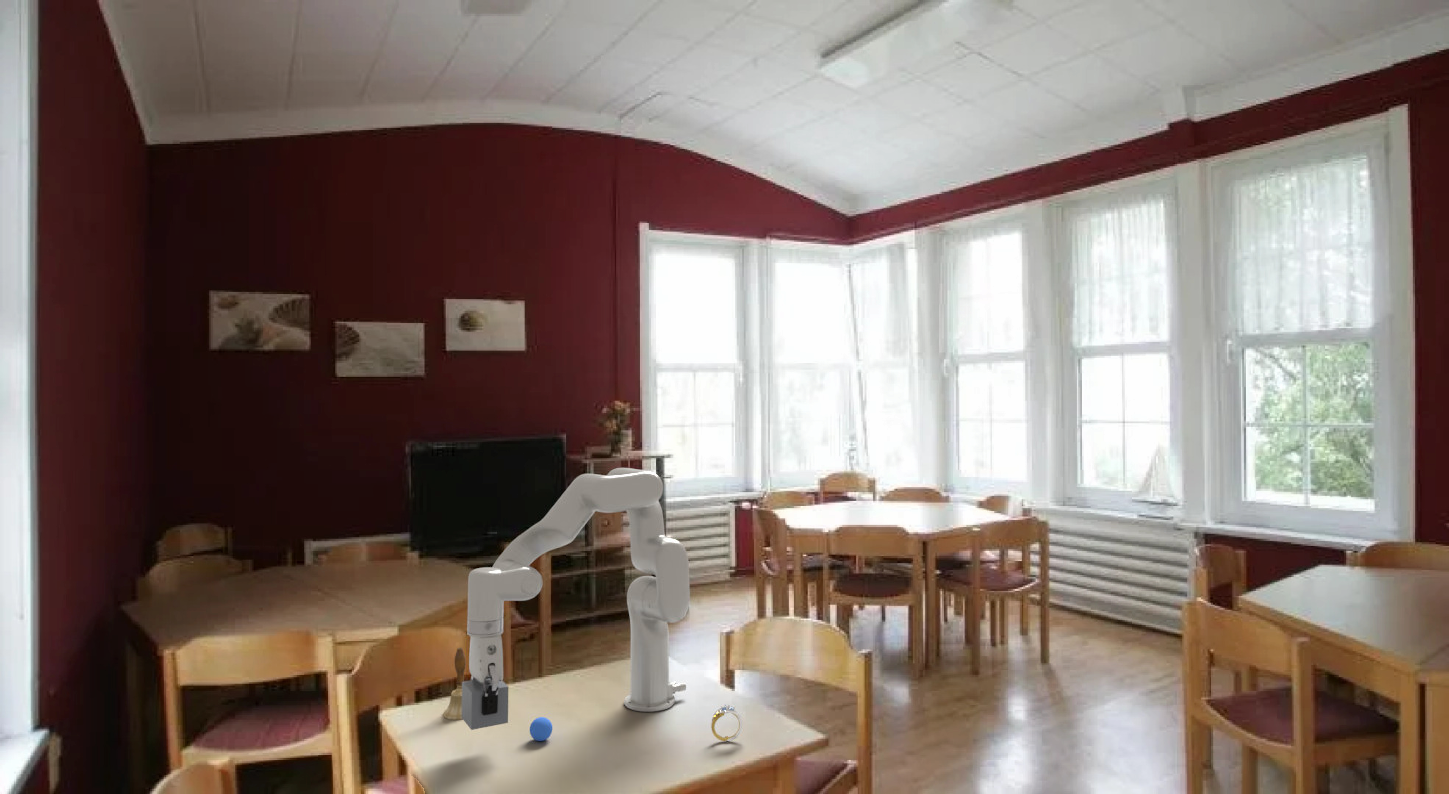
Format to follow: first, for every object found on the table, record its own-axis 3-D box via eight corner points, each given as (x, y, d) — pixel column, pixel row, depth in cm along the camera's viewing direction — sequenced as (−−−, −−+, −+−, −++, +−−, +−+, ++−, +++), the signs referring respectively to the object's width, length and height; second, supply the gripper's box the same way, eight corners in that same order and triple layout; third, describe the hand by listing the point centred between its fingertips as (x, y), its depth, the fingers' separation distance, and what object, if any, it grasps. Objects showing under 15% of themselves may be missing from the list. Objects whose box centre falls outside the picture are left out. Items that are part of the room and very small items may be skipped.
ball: (547, 734, 195) (547, 712, 195) (555, 741, 191) (555, 719, 191) (526, 738, 193) (526, 716, 193) (534, 746, 188) (534, 723, 188)
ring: (742, 738, 193) (742, 703, 193) (742, 744, 190) (742, 708, 190) (711, 739, 193) (711, 703, 193) (711, 744, 190) (711, 708, 190)
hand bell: (468, 721, 203) (468, 654, 203) (436, 718, 205) (436, 652, 204) (484, 708, 211) (484, 644, 211) (453, 706, 213) (453, 642, 213)
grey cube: (496, 711, 190) (497, 676, 190) (507, 723, 184) (508, 686, 184) (461, 717, 186) (461, 681, 186) (471, 730, 180) (471, 692, 180)
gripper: (515, 633, 180) (513, 717, 180) (490, 615, 194) (489, 692, 194) (479, 638, 176) (477, 724, 176) (457, 619, 190) (455, 698, 190)
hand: (483, 707), depth 185 cm, fingers closed on grey cube, 8 cm apart
